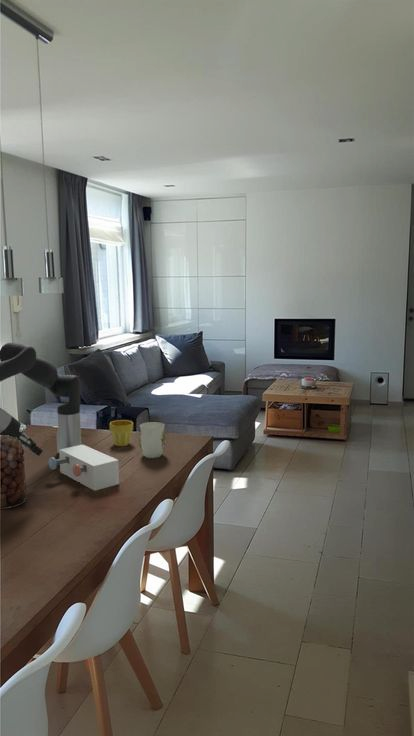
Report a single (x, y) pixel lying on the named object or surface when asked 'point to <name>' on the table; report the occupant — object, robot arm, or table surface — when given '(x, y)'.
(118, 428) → the plant pot
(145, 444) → the pitcher
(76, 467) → the red key
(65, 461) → the blue key
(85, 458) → the key box
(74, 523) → the table surface
